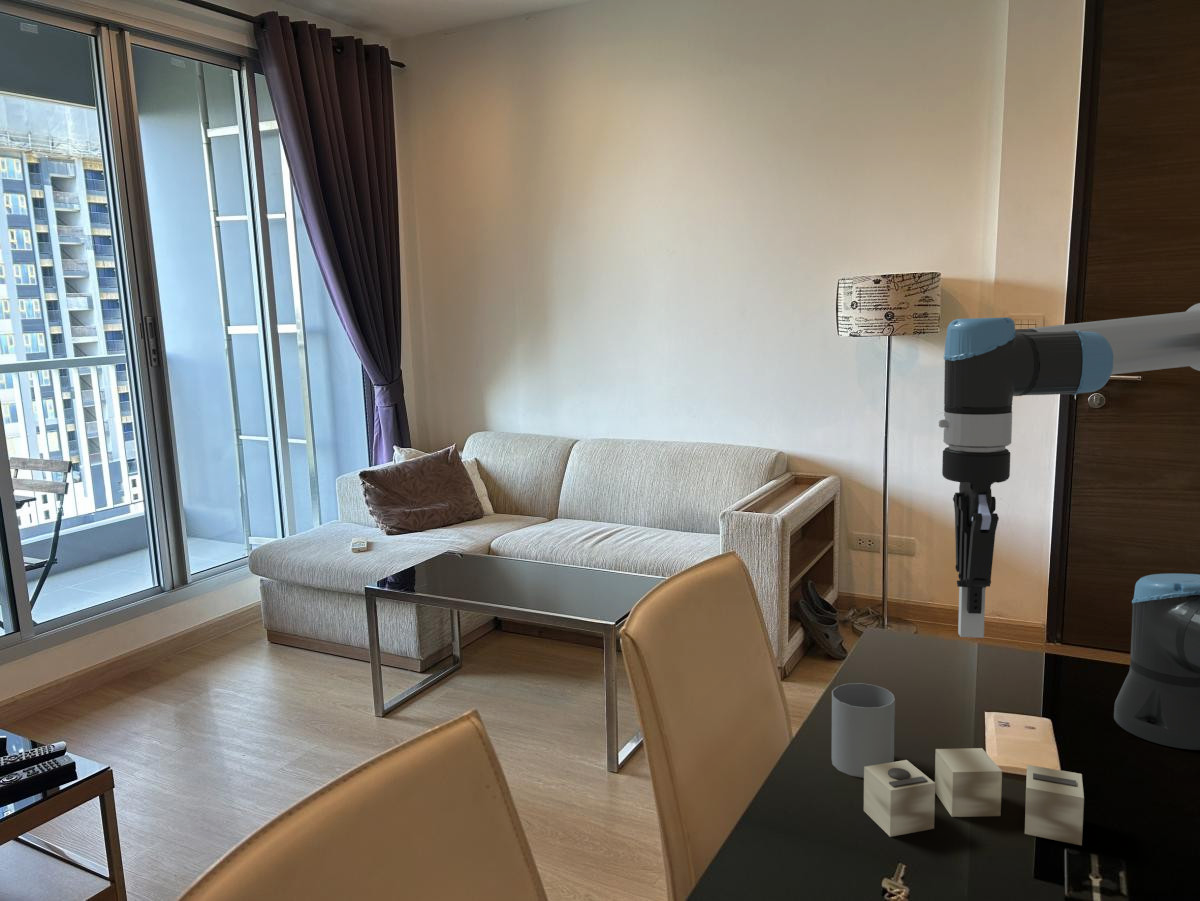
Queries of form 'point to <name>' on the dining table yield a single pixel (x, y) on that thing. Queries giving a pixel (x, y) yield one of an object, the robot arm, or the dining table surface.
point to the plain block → (968, 782)
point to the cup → (862, 727)
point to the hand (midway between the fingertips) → (970, 635)
